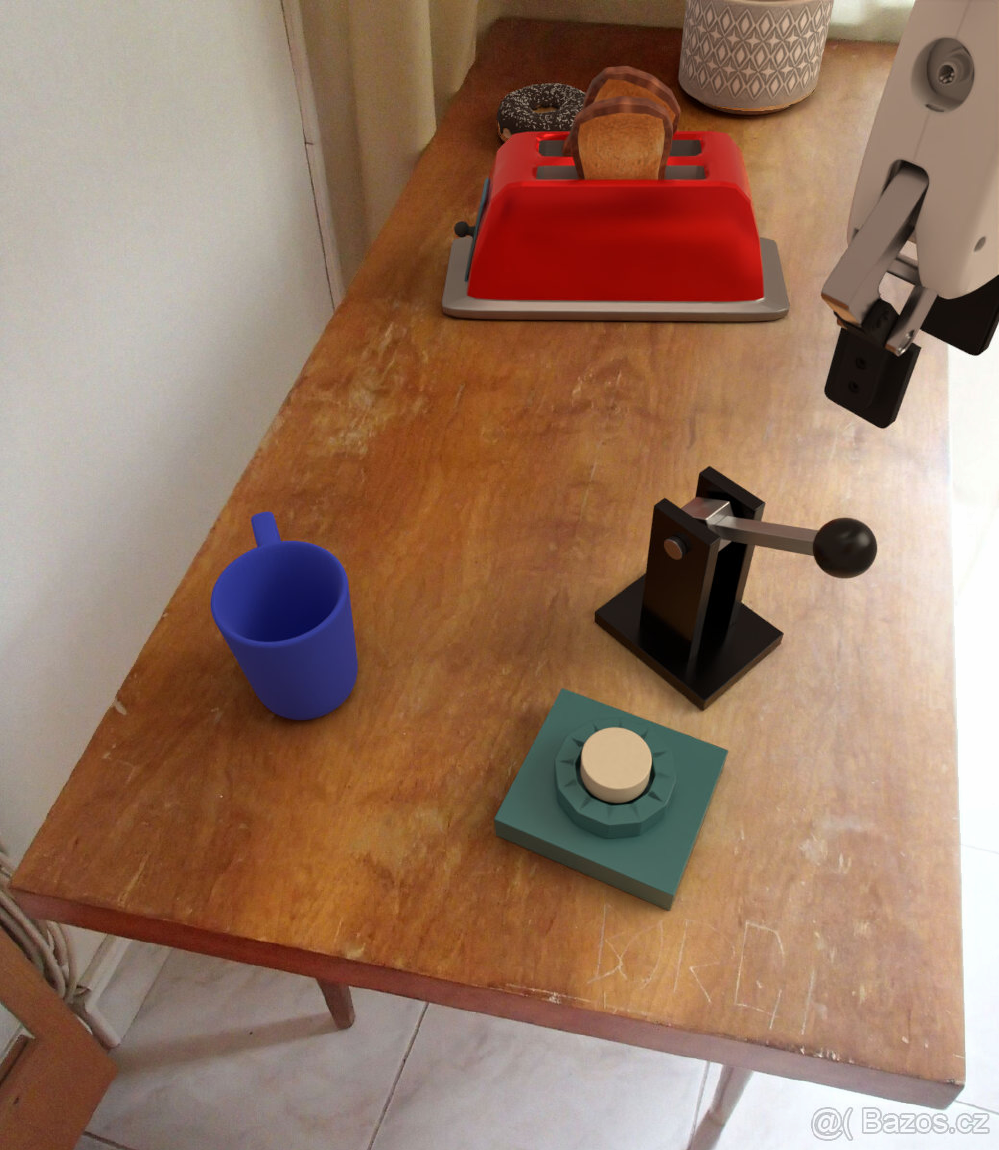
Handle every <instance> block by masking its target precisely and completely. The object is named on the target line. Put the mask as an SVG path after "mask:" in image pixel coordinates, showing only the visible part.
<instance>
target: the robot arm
mask: <svg viewBox="0 0 999 1150" xmlns="http://www.w3.org/2000/svg"><path fill="white" fill-rule="evenodd" d="M876 110H877V111H876V114H875V117H874V120H873V123H872V127H871V130H870V133H869V136H868V140H867V144H866V147H865V150H864V153H863V157H862V160H861V165H860V168H859V172H858V176H857V179H856V183H855V188H854V192H853V196H852V200H851V206H850V210H849V216H848V220H847V229H846V243H847V248H846V249H845V251H844V252H843V254H842V256H841V257H840V259H838V261H837V263H836V265H835V266H834V268H833V269H832V271H831V273H829V275H828V277H827V279H826V280H825V282H824V283H823V285H822V288H821V291H820V297H821V299H822V300H823V301H824V303H826V304H827V306H828V307H829V308H830V309H831V310H832V313H833V315H834V316H835V317H836V325H837V326H839V327H840V328H839V329H840V330H839V333H838V337H837V341H836V345H835V348H834V351H833V355H832V358H831V363H830V366H829V370H828V374H827V377H826V380H825V384H824V388H823V393H824V395H825V397H826V398H827V400H829V401H831V402H833V403H835V404H836V405H838V406H839V407H841V408H842V409H844V410H846V411H848V412H850V413H852V414H853V415H856V416H857V417H859V418H860V419H862V420H865V421H866V422H867V423H869V424H871V425H873V426H875V427H876V428H877V429H881V430H882V429H883V430H885V429H887V428H888V427H890V426H891V425H892V424H893V423H895V422H896V420H897V418H898V415H899V412H900V410H901V407H902V403H903V401H904V399H905V395H906V392H907V390H908V387H909V384H910V381H911V378H912V376H913V373H914V370H915V368H916V364H917V362H918V359H919V356H920V353H921V350H922V346H920V345H918V344H917V343H915V342H914V340H915V339H916V337H917V335H918V333H919V331H921V332H923V333H926V334H928V335H930V336H931V337H932V338H936V339H937V340H939V341H941V342H943V343H945V344H948V345H950V346H951V347H953V348H955V349H958V350H960V351H962V352H963V353H965V354H967V355H970V356H973V357H977V356H980V355H982V354H983V353H984V352H986V350H988V349H989V347H990V345H991V342H992V340H993V338H994V335H995V333H996V330H997V328H998V326H999V0H914V3H913V6H912V8H911V11H910V14H909V16H908V20H907V22H906V25H905V27H904V30H903V33H902V36H901V38H900V41H899V43H898V47H897V50H896V53H895V56H894V58H893V60H892V64H891V67H890V70H889V73H888V76H887V79H886V82H885V85H884V88H883V92H882V95H881V98H880V100H879V103H878V108H877V109H876ZM908 242H910V243H913V244H915V247H916V258H917V260H916V259H914V258H912V257H910V256H908V255H906V254H903V253H901V251H902V249H903V248H904V246H906V244H907V243H908ZM886 273H887V274H889V275H891V276H894V277H896V278H898V279H899V280H901V281H904V282H906V283H907V284H910V285H912V286H913V287H912V289H911V291H910V293H909V295H908V297H907V299H906V301H905V303H904V305H903V307H902V309H901V311H900V313H898V311H897V309H895V307H894V306H893V304H892V303H890V302H888V301H886V300H885V299H883V298H882V297H881V296H882V294H881V292H880V285H881V283H882V281H883V279H884V277H885V276H886Z"/></svg>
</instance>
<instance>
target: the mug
mask: <svg viewBox="0 0 999 1150" xmlns="http://www.w3.org/2000/svg"><path fill="white" fill-rule="evenodd" d="M250 524H251V527H252V528H251V529H252V530H253V531H252V532H253V535H254V540H255V543H256V547H254V548H252V549H250V550H248V551H246V552H244V553H242V554H241V555H239V556H238V557H237V558H235V559H234V560H233V561H231V562H230V563H229V564H228V565H227V566H226V568H224V569H223V571H221V573H220V575H219V576H218V577H217V579H216V582H215V583H214V585H213V587H212V591H211V595H210V612H211V616H212V619H213V621H214V623H215V625H216V627H217V628H218V630H219V632H220V634H221V635H222V637H223V639H224V641H225V643H226V645H227V646H228V648H229V649H230V651H231V653H232V655H233V656H234V658H235V660H236V662H237V664H238V665H239V667H240V669H241V670H242V672H243V674H244V676H245V677H246V679H247V681H248V682H249V684H250V686H251V688H252V690H253V691H254V694H255V695H256V697H257V698H258V699H259V701H260V702H261V703H262V704H263V705H264V706H265V707H266V709H268V710H269V711H270V712H272V713H274V714H275V715H278V716H280V717H281V718H285V719H289V720H295V721H308V720H314V719H318V718H321V717H324V716H327V715H328V714H329V713H332V712H333V711H335V710H336V709H338V708H340V706H341V705H342V704H343V703H344V702H345V701H346V700H347V699H348V698H349V696H350V694H351V693H352V691H353V689H354V687H355V684H356V682H357V677H358V670H359V664H358V663H359V662H358V661H359V660H358V652H357V646H356V645H357V644H356V636H355V627H354V620H353V611H352V603H351V602H352V601H351V595H350V585H349V579H348V575H347V572H346V570H345V567H344V566H343V564H342V562H340V560H339V558H337V556H336V555H334V554H333V553H331V551H329V550H328V549H326V548H324V547H322V546H319V545H318V544H314V543H311V542H307V541H300V540H281V539H282V538H281V536H280V531H279V528H278V525H277V521H276V518H275V515H274V513H273V512H272V511H262V512H258V513H255V514H254V515H252V516H251V518H250Z"/></svg>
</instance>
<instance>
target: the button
mask: <svg viewBox="0 0 999 1150" xmlns="http://www.w3.org/2000/svg"><path fill="white" fill-rule="evenodd" d="M651 764H652V757H651V752H650V749H649V747H648V746H647V744H646V743H645V741H644V740H643V739H642V738H641V737H640V736H639V735H637V734H636V733H634V732H632V731H630V730H627V729H624V728H616V727H614V728H606V729H602V730H600V731H598V732H596V733H594V734H593V735H592V736H591V737H590V738H588V740H587V741H586V743H585V744H584V746H583V749H582V754H581V778H582V781H583V783H584V785H585V787H586V788H587V789H588V790H589V792H590V793H592V794H593V795H594V796H595V797H597V798H599V799H601V800H603V801H606V802H611V803H623V802H627V801H630V800H632V799H634V798H636V797H638V796H639V795H640V794H641V793H642V792H643V791H644V790H645V788H646V786H647V784H648V781H649V776H650V770H651Z"/></svg>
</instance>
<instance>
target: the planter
mask: <svg viewBox="0 0 999 1150" xmlns="http://www.w3.org/2000/svg"><path fill="white" fill-rule="evenodd" d="M834 4H835V0H686V1H685V8H684V9H685V10H684V18H683V30H682V38H681V39H682V40H681V48H680V59H679V68H678V77H677V78H678V82H679V83H678V84H679V85H680V87H681V89H683V91H684V92H685V93H687V94H688V95H689V96H691V97H692V98H693V99H696V100H697V101H698V102H699V103H701V104H703V106H706V107H708V108H709V109H713V110H716V111H719V112H723V113H729V114H733V115H746V116H747V115H749V116H752V115H766V114H771V113H776V112H780V111H783V110H785V109H787V108H789V107H790V106H787V107H784V108H779V109H773V110H764V111H742V110H733V109H726V108H721V106H722V107H729V108H739V109H740V108H744V109H745V108H748V109H750V108H753V109H754V108H760V107H767V106H768V107H769V106H776V105H781V104H785V103H788V102H792V101H794V100H797V99H799V98H801V97H803V96H805V95H806V94H808V93H810V92H812V91H813V90H814V89H815V87H816V88H817V86H816V85H818V82H819V81H818V80H819V76H820V72H821V67H822V61H823V56H824V53H825V46H826V42H827V38H828V33H829V28H830V23H831V18H832V14H833V9H834ZM815 90H816V89H815ZM815 90H814V91H815ZM704 102H705V103H704ZM713 105H714V106H713ZM717 106H720V107H717Z"/></svg>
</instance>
